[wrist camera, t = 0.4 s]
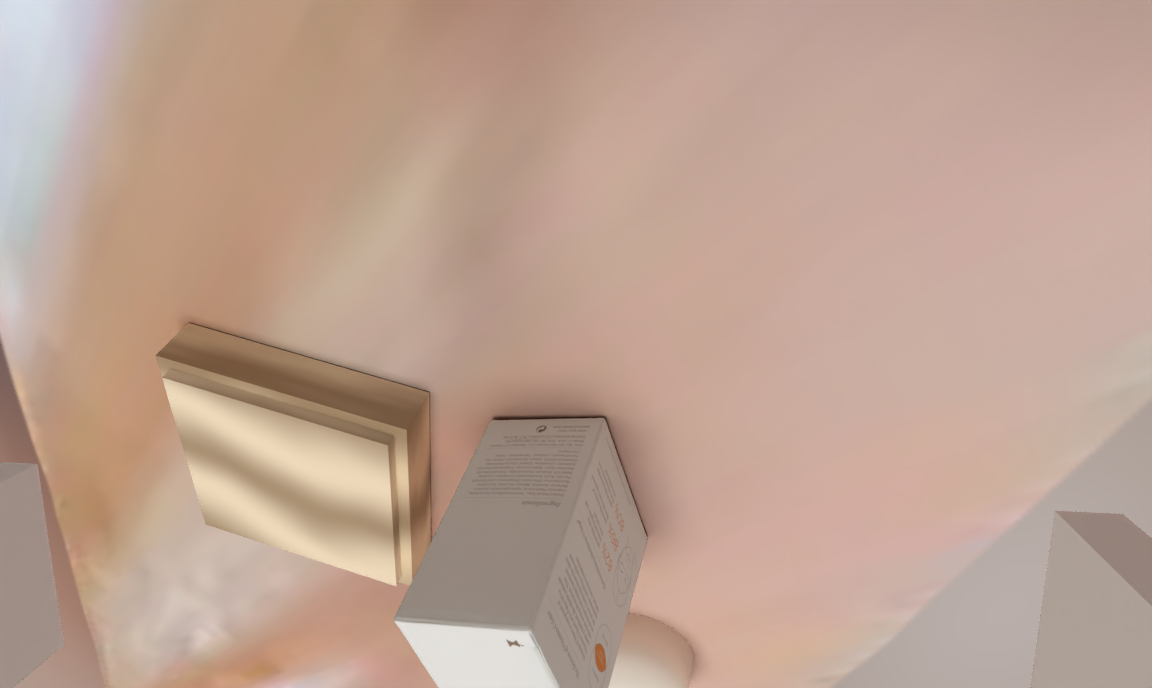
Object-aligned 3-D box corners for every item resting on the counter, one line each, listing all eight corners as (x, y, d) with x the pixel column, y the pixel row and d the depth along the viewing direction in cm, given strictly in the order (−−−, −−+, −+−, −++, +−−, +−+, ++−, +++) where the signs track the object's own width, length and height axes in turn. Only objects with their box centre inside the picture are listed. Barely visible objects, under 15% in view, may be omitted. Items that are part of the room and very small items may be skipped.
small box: (490, 414, 39) (386, 617, 31) (608, 413, 36) (528, 630, 29) (543, 534, 43) (463, 737, 35) (651, 539, 41) (592, 756, 33)
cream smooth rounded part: (592, 598, 46) (570, 667, 43) (704, 634, 45) (689, 706, 42) (580, 655, 50) (559, 721, 47) (682, 689, 49) (668, 759, 46)
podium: (188, 322, 40) (146, 364, 38) (429, 392, 39) (400, 439, 36) (229, 485, 48) (197, 527, 46) (431, 549, 47) (407, 596, 44)
